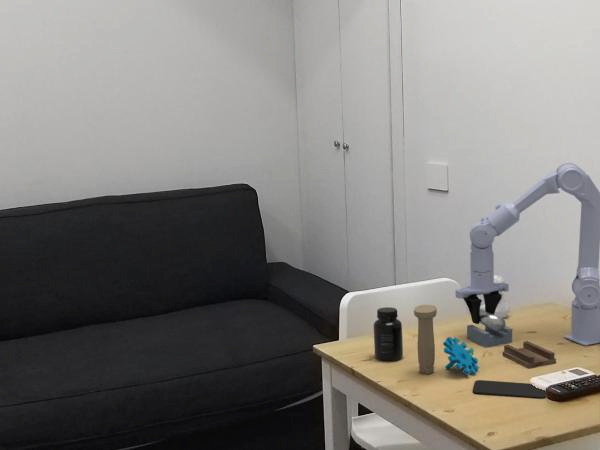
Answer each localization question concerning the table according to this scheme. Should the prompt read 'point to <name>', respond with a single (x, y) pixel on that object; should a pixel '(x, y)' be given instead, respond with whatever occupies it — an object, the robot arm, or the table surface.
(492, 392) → the phone
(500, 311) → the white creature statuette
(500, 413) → the table surface
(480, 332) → the v block
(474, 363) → the gear
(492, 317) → the axle
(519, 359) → the brown channel tray
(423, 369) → the handle
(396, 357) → the supplement bottle
